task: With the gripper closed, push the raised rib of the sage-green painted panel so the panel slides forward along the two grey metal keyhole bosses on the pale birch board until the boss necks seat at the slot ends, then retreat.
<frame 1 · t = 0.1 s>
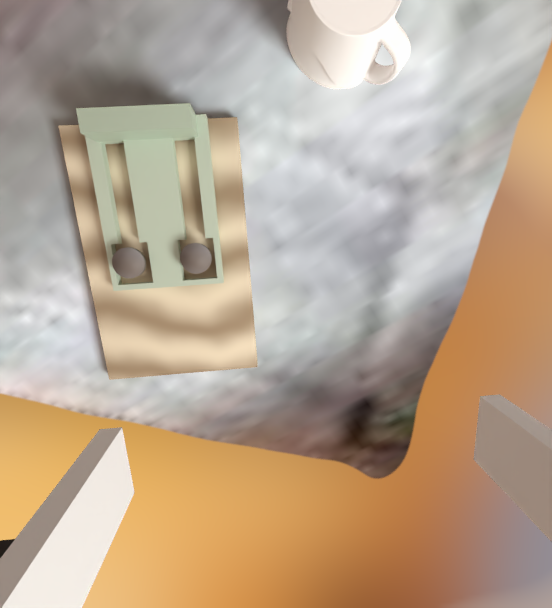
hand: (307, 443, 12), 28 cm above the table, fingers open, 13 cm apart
panel: (154, 206, 32), point 4 cm above the table, slide at 0.0 cm
board: (170, 257, 37), on the table
mug: (337, 53, 34), on the table
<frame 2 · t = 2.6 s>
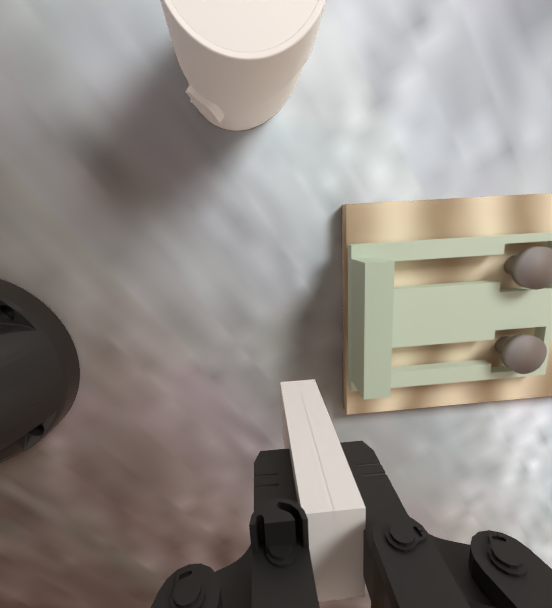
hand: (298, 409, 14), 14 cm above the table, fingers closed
panel: (463, 318, 25), point 4 cm above the table, slide at 0.0 cm
board: (498, 302, 28), on the table
mug: (257, 49, 23), on the table
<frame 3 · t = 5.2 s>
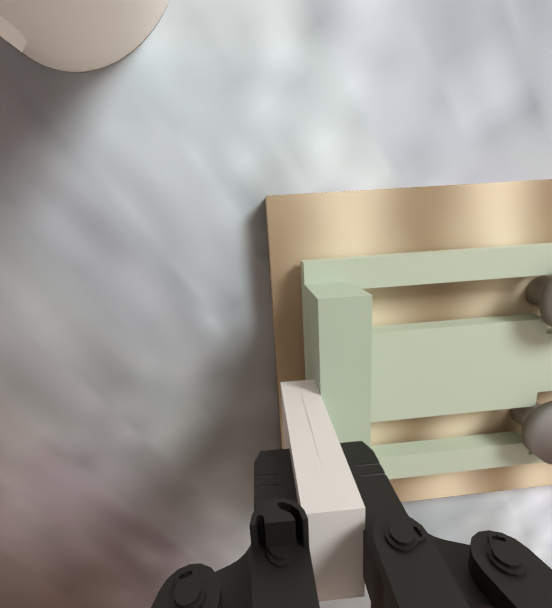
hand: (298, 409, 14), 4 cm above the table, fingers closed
panel: (490, 379, 15), point 3 cm above the table, slide at 1.4 cm, touching gripper
board: (513, 345, 19), on the table
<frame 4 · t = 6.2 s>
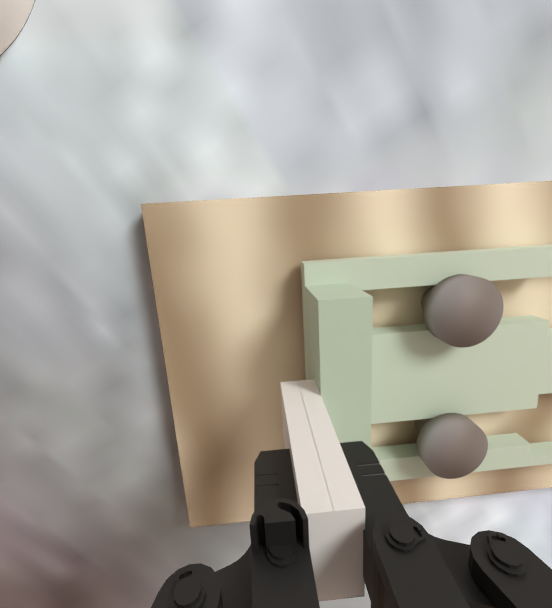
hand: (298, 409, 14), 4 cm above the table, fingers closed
panel: (491, 381, 15), point 4 cm above the table, slide at 7.1 cm, touching gripper
board: (421, 355, 18), on the table
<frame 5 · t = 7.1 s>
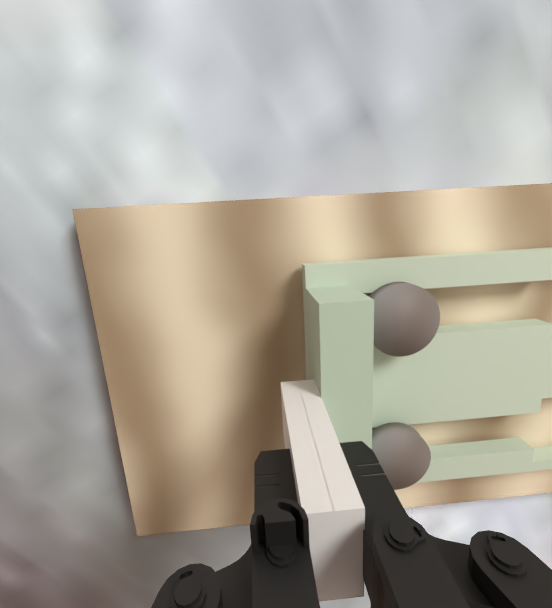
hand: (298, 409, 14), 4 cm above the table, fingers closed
panel: (493, 385, 15), point 4 cm above the table, slide at 10.0 cm, touching gripper
board: (371, 362, 18), on the table
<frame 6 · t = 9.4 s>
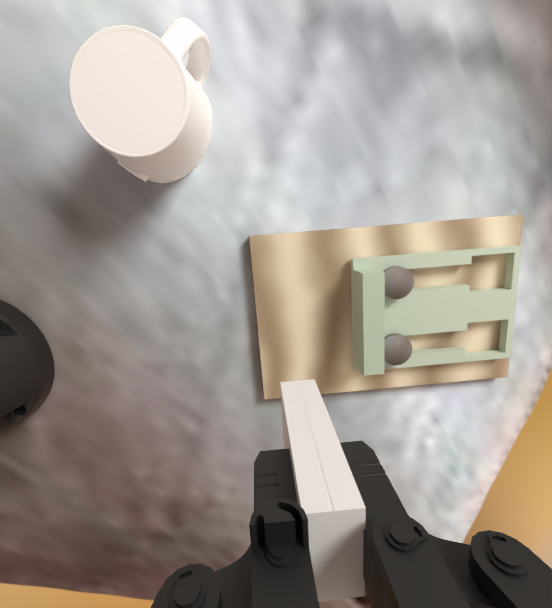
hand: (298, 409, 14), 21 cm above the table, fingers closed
panel: (440, 313, 32), point 3 cm above the table, slide at 10.0 cm
board: (383, 308, 35), on the table
mug: (176, 123, 31), on the table
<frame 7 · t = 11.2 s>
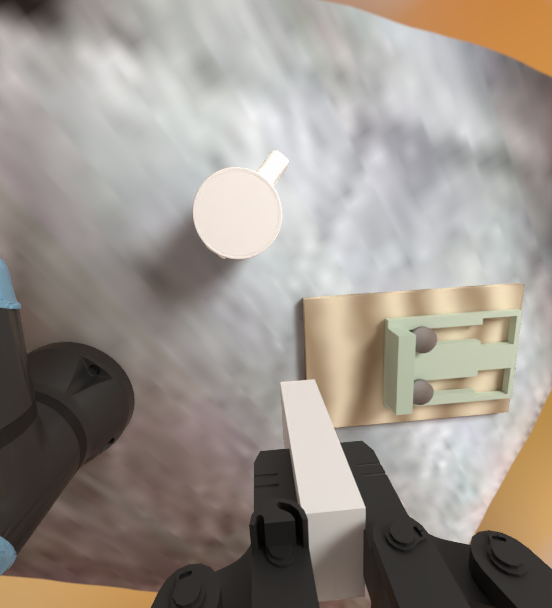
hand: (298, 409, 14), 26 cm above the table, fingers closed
panel: (457, 364, 40), point 3 cm above the table, slide at 10.0 cm
board: (408, 356, 43), on the table
mug: (248, 209, 37), on the table
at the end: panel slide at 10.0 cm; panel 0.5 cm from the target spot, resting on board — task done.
